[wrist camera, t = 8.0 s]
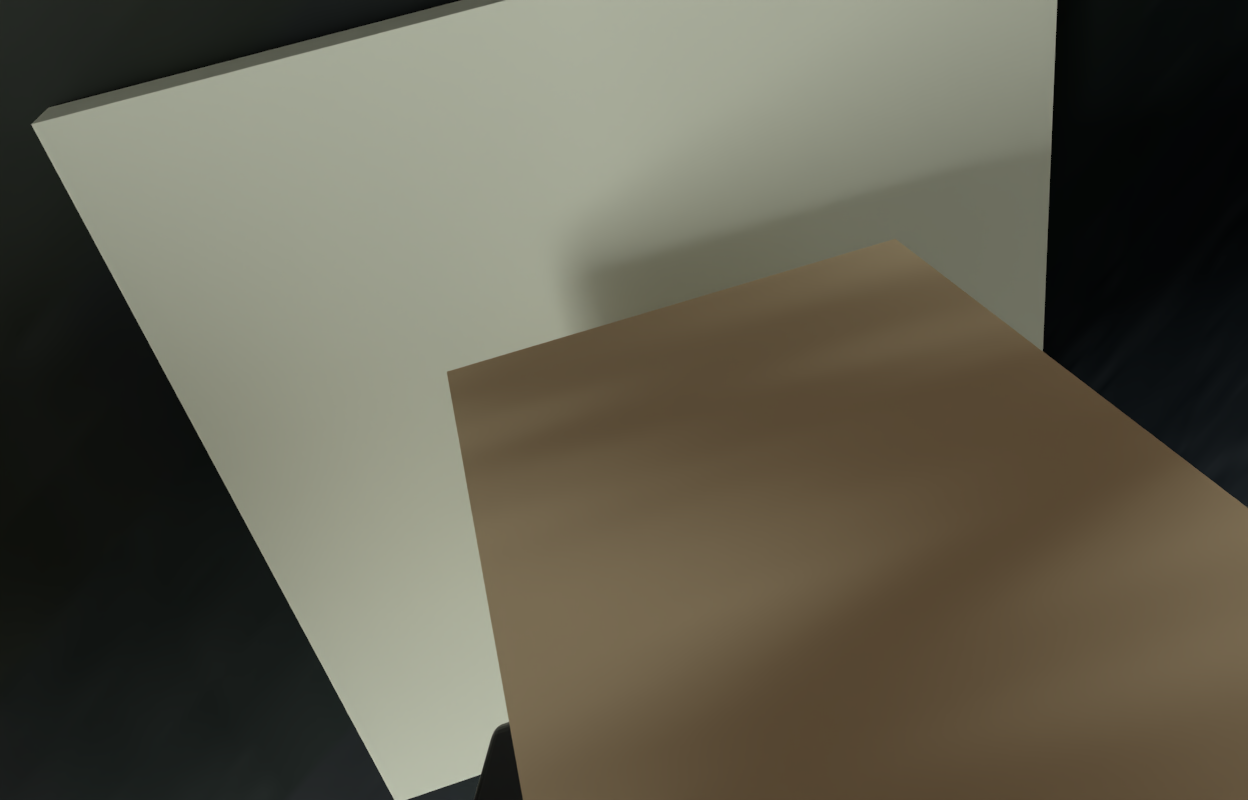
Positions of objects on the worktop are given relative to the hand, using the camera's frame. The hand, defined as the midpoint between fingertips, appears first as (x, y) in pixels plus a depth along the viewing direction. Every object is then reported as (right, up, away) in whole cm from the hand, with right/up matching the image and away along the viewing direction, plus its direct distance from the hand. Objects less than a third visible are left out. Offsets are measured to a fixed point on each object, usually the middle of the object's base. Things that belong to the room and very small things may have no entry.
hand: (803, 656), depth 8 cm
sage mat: (-1, +2, +4) cm, 5 cm away
